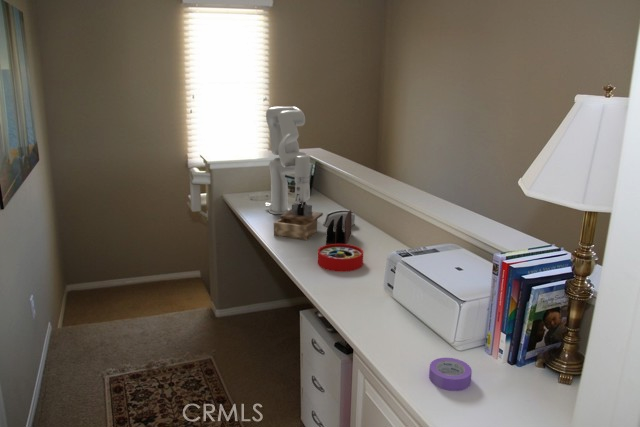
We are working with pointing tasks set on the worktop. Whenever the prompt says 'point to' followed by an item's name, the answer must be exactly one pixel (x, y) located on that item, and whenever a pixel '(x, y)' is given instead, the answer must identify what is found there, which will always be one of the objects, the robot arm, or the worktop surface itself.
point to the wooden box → (295, 229)
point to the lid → (306, 216)
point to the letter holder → (339, 231)
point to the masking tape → (450, 381)
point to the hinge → (336, 215)
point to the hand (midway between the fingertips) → (301, 213)
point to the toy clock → (340, 257)
